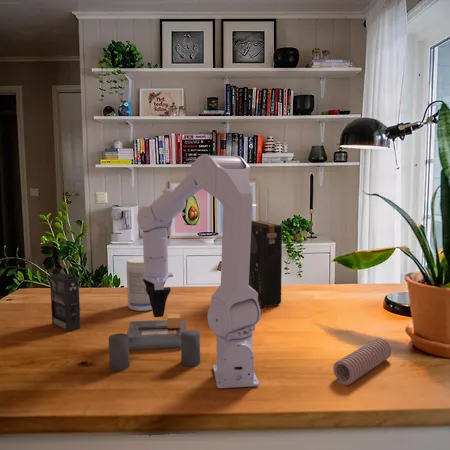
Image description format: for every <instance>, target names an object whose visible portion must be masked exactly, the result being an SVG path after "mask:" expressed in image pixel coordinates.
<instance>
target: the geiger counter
mask: <svg viewBox="0 0 450 450" xmlns="http://www.w3.org/2000/svg"><path fill="white" fill-rule="evenodd" d="M60 269H61V268H60V267H59V268H53V269H52V274H51V273H50V274H49V285H50V286H49V287H50V290H49V291H50V303H51V304H50V306H51V307H50V308H51V322H52V323H51V325H53V326H54V327H57V328H60V329H61V330H63V331H65V332H74V331H76V330H77V331H78V330H81V328H82V327H81V306H80V305H81V304H80V286H79V285H80V284H79V283H80V282H79V277H78V276H76V272H71V273H66V274H65V273H64V272H61V270H60Z"/></svg>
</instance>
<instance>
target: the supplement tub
mask: <svg viewBox="0 0 450 450" xmlns="http://www.w3.org/2000/svg"><path fill="white" fill-rule="evenodd" d="M125 267H126V289H127V290H126V292H127V307H128V309H130V310H132V311H135V312H149V311H152V307H151V304H150V299H149V295H148V294H147V292H146V285H145V283H144V281H143V279H144V278H143V275H144V256H137V257H132V258H128V259H126V265H125Z"/></svg>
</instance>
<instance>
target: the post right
mask: <svg viewBox="0 0 450 450" xmlns="http://www.w3.org/2000/svg"><path fill="white" fill-rule="evenodd" d="M200 335H201V333H200V331H198V330H192V329H190V330H187V331H184V332H182V333H181V348H180V353H181V354H180V358H181V359H180V360H181V361H180V362H181V363H180V364H181V365H182V366H184V367H187V368H192V367H193V368H194V367H196V366H199V365H201V336H200Z"/></svg>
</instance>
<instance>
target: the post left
mask: <svg viewBox="0 0 450 450" xmlns="http://www.w3.org/2000/svg"><path fill="white" fill-rule="evenodd" d="M129 352H130V350H129V342H128V335H127V333H115V334H111V335H110V336H108V355H109V357H108V358H109V359H108V360H109V369H110V370H112V371H115V372H119V371H120V372H121V371H125V370H127V369H128V368H129V367H130V356H129V355H130V353H129Z"/></svg>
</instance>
